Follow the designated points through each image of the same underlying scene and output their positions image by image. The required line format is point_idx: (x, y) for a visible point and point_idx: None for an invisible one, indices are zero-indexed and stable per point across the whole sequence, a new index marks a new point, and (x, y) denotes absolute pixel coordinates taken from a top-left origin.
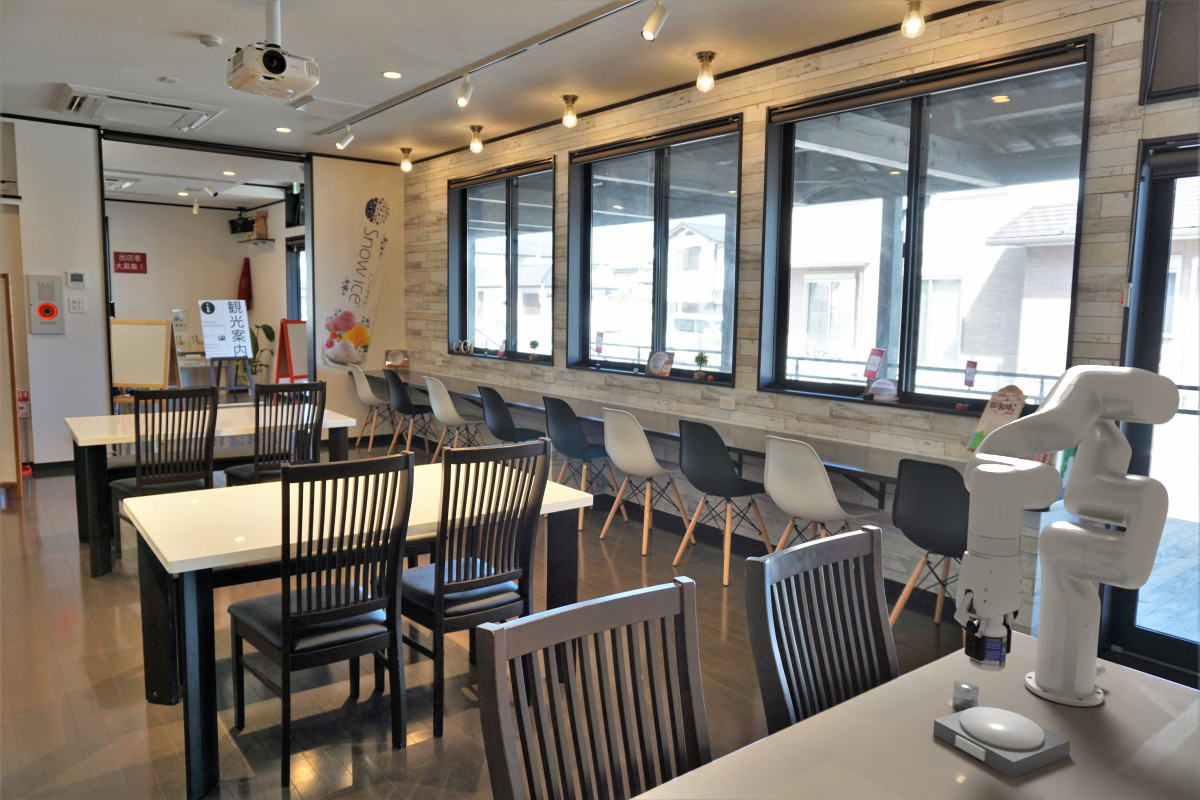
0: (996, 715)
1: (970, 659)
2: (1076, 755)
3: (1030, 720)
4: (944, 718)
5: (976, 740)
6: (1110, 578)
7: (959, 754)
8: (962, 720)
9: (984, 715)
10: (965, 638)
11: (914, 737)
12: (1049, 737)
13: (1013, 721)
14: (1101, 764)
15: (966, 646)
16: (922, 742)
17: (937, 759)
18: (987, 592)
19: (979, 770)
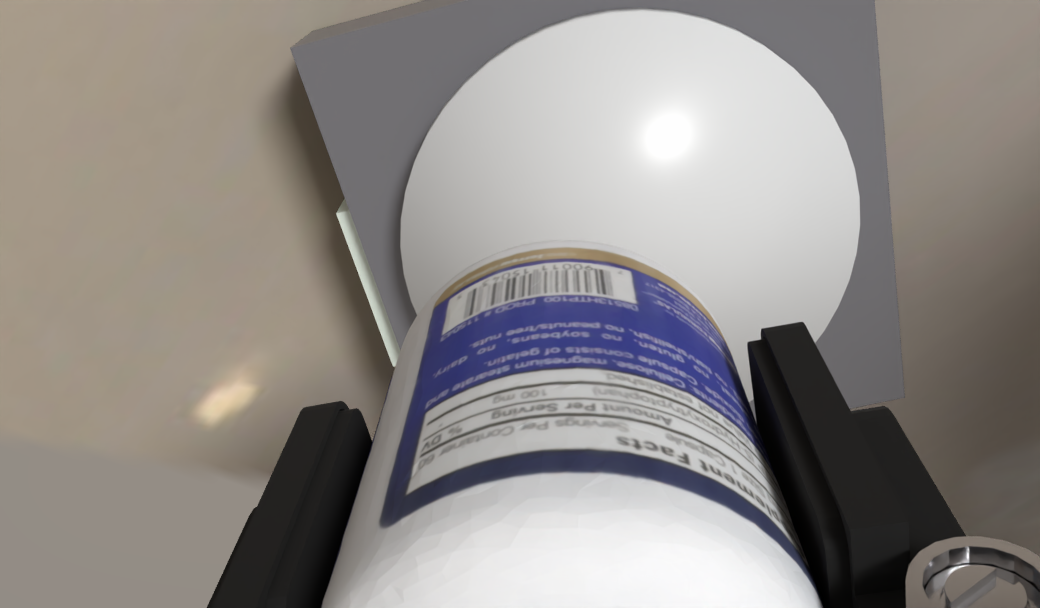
0: (696, 143)
1: (392, 374)
2: (912, 358)
3: (854, 238)
4: (370, 45)
5: (401, 304)
6: None
7: (339, 240)
8: (427, 155)
9: (617, 128)
10: (248, 528)
11: (181, 36)
12: (824, 354)
13: (738, 229)
14: (946, 434)
15: (241, 536)
16: (202, 96)
17: (199, 256)
18: None
19: (351, 369)
